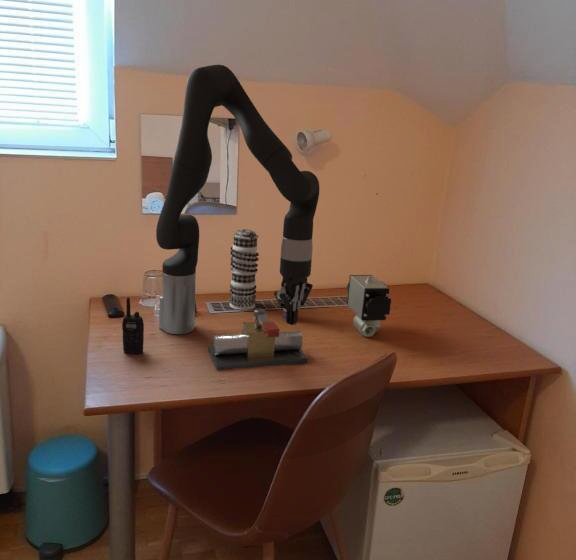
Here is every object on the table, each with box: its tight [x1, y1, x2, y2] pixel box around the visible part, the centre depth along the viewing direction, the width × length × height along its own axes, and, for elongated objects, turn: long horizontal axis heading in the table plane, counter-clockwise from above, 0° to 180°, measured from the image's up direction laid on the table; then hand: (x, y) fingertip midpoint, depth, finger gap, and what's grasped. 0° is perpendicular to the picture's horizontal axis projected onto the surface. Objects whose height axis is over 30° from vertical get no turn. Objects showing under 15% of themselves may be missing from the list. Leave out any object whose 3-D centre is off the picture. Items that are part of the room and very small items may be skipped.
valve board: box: [207, 319, 309, 371], centre depth 154 cm, size 24×12×11 cm, turn 107°
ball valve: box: [346, 274, 392, 338], centre depth 175 cm, size 18×8×18 cm, turn 14°
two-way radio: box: [121, 297, 145, 355], centre depth 151 cm, size 6×4×15 cm
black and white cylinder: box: [228, 228, 260, 311], centre depth 189 cm, size 9×9×25 cm
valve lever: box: [253, 308, 281, 338], centre depth 147 cm, size 14×3×2 cm, turn 18°
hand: (291, 323), depth 145 cm, fingers closed
